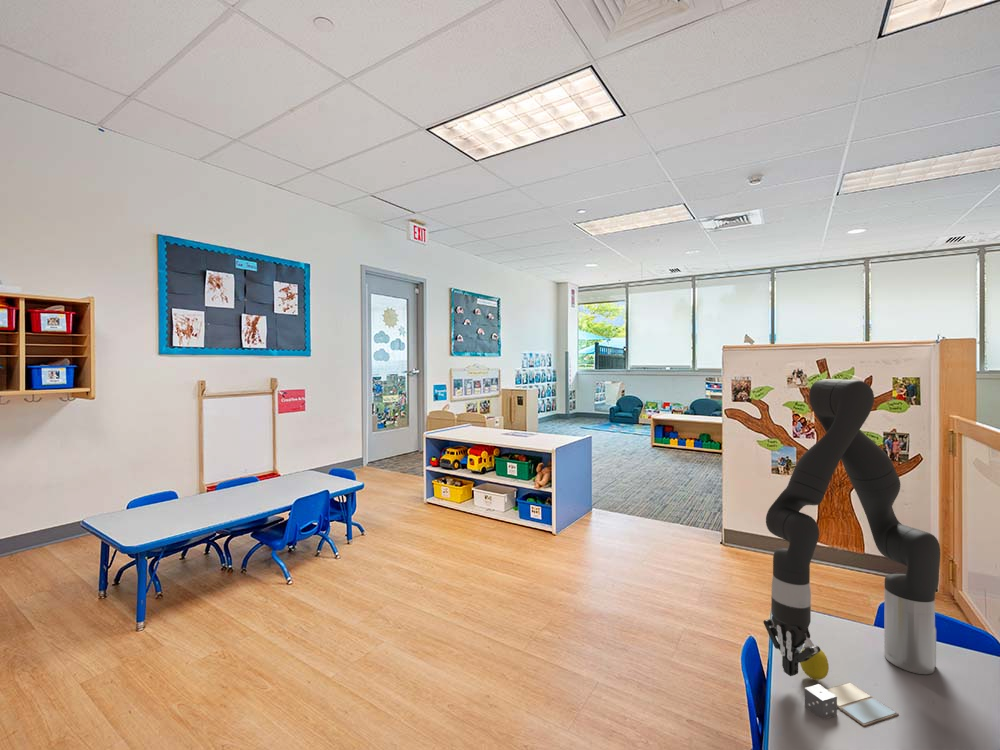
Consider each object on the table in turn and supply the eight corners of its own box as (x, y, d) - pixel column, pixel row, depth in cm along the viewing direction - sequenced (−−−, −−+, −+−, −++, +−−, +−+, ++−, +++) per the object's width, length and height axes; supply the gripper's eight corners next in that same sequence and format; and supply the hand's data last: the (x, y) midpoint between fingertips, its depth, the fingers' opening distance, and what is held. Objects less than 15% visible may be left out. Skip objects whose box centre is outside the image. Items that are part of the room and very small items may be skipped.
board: (849, 683, 105) (849, 681, 105) (898, 715, 96) (898, 713, 96) (816, 693, 103) (816, 691, 103) (863, 726, 93) (863, 724, 93)
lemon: (833, 689, 104) (833, 654, 103) (806, 686, 105) (806, 651, 105) (821, 673, 109) (821, 640, 109) (795, 670, 110) (795, 637, 110)
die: (818, 701, 100) (818, 683, 100) (837, 715, 96) (837, 696, 96) (803, 705, 99) (803, 687, 99) (822, 720, 95) (822, 700, 95)
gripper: (831, 610, 99) (831, 689, 99) (778, 582, 111) (777, 653, 112) (805, 615, 96) (804, 697, 97) (753, 586, 109) (753, 658, 109)
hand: (790, 673), depth 104 cm, fingers closed
